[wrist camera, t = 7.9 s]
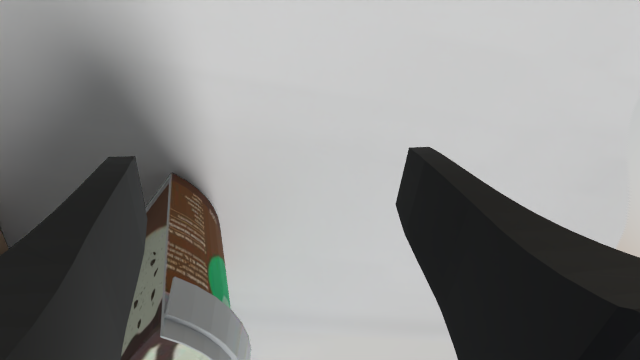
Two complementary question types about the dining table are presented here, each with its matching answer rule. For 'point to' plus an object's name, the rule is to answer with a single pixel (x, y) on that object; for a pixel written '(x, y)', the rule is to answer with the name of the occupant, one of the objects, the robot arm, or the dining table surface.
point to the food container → (183, 284)
